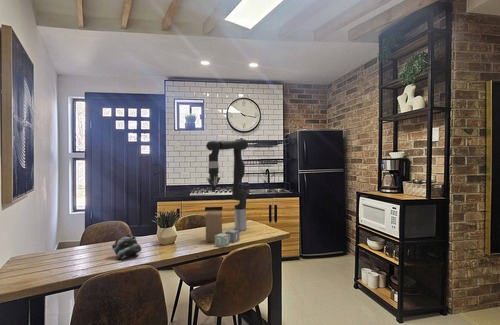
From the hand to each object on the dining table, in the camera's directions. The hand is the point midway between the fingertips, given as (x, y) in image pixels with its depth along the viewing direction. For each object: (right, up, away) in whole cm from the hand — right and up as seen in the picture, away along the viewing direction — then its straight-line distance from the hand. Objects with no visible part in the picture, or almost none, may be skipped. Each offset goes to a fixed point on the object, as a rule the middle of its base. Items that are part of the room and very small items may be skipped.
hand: (214, 190), depth 221 cm
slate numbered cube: (+15, -35, -13) cm, 40 cm away
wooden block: (+2, -35, -11) cm, 37 cm away
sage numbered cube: (+8, -35, -23) cm, 43 cm away
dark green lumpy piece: (-47, -36, -44) cm, 74 cm away
